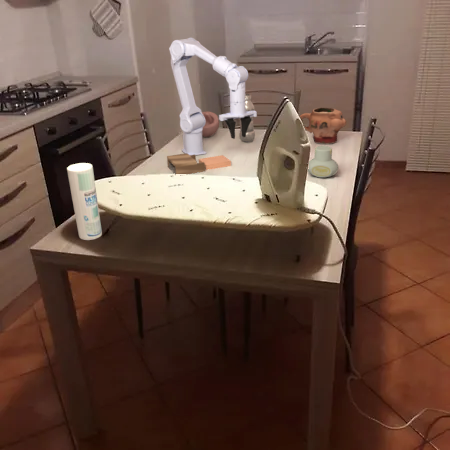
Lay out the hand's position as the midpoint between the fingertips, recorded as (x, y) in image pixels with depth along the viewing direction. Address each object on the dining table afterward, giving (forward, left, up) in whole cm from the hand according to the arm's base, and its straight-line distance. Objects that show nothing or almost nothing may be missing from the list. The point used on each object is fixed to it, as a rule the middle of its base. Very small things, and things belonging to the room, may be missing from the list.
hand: (238, 137), depth 192 cm
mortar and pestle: (-39, +1, -10) cm, 40 cm away
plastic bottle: (-23, +14, -10) cm, 29 cm away
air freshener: (+28, +20, -10) cm, 36 cm away
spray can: (+41, -63, -10) cm, 76 cm away
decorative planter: (-8, +42, -10) cm, 44 cm away
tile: (0, -10, -10) cm, 14 cm away
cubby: (0, -21, -9) cm, 23 cm away
